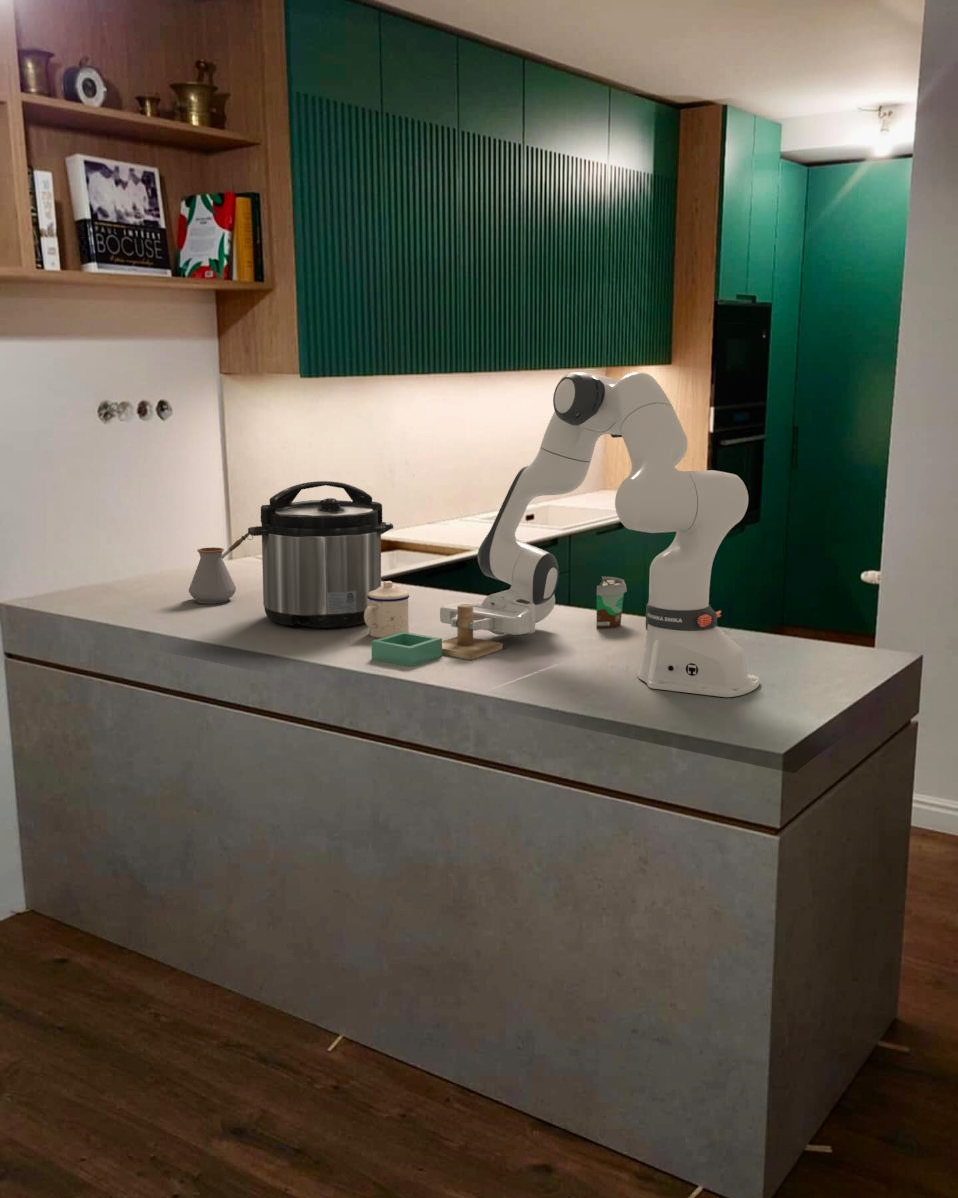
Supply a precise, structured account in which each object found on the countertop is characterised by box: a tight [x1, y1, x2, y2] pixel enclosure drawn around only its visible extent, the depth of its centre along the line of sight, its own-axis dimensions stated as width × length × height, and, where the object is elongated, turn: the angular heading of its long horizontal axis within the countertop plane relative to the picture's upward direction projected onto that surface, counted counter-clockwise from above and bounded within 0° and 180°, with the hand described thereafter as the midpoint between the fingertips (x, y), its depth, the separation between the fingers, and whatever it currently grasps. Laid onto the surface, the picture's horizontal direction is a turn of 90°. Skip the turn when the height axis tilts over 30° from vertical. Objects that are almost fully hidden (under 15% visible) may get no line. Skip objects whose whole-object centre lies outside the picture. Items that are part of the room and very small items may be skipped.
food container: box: [595, 576, 628, 630], centre depth 267 cm, size 12×6×10 cm, turn 168°
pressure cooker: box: [247, 480, 394, 629], centre depth 272 cm, size 30×28×32 cm
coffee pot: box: [188, 532, 254, 605], centre depth 297 cm, size 21×12×15 cm, turn 152°
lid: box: [442, 605, 504, 661], centre depth 242 cm, size 11×11×9 cm
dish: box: [370, 632, 443, 667], centre depth 237 cm, size 10×10×4 cm
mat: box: [442, 647, 506, 662], centre depth 243 cm, size 12×12×1 cm
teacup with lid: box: [364, 580, 410, 639], centre depth 257 cm, size 12×9×12 cm
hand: (462, 624), depth 242 cm, fingers closed on lid, 3 cm apart
